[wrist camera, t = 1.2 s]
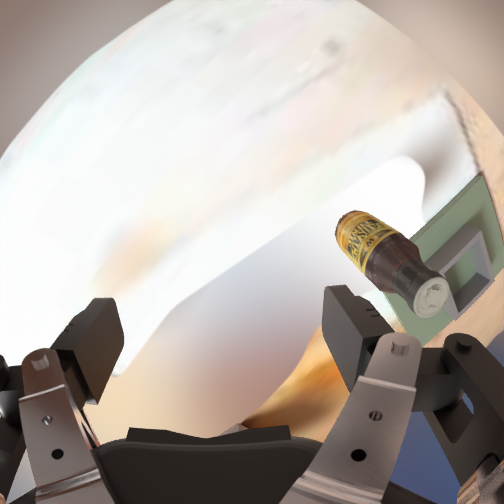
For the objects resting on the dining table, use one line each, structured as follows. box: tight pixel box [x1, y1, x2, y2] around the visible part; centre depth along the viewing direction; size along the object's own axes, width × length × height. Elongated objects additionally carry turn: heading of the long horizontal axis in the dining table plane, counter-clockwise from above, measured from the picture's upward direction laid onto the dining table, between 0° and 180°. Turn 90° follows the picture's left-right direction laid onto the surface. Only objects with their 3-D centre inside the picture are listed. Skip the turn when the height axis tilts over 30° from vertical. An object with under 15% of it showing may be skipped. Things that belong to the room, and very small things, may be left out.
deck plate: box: [382, 175, 504, 347], centre depth 41 cm, size 26×20×6 cm
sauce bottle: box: [335, 210, 449, 318], centre depth 31 cm, size 7×6×20 cm
